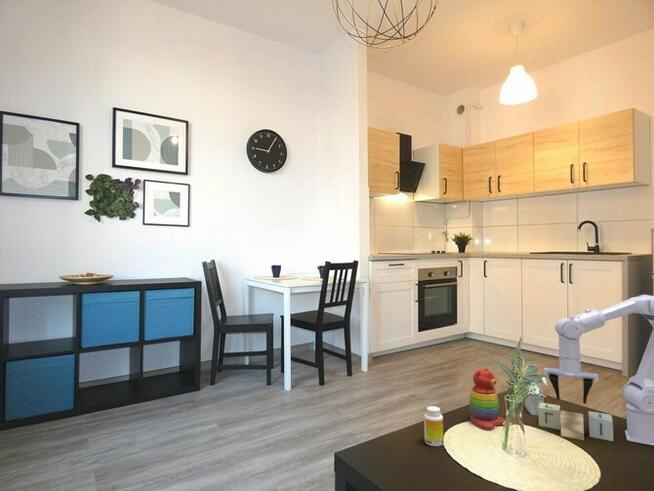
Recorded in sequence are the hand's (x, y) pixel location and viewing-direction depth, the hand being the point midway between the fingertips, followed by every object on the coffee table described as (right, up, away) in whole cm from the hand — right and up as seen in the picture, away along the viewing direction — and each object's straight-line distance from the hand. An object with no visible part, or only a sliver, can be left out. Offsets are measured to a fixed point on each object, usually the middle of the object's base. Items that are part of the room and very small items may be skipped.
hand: (571, 400), depth 124 cm
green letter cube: (-3, -11, +7) cm, 13 cm away
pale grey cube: (+8, -10, -1) cm, 14 cm away
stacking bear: (-24, -11, +9) cm, 28 cm away
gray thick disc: (-2, -12, +18) cm, 22 cm away
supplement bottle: (-45, -11, -6) cm, 47 cm away
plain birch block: (0, -11, -1) cm, 10 cm away
